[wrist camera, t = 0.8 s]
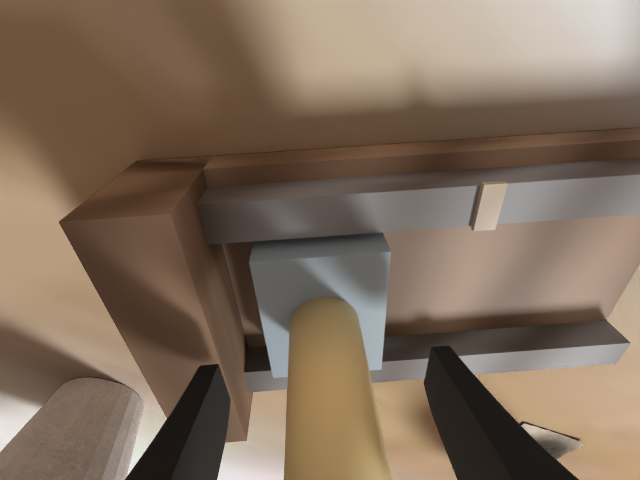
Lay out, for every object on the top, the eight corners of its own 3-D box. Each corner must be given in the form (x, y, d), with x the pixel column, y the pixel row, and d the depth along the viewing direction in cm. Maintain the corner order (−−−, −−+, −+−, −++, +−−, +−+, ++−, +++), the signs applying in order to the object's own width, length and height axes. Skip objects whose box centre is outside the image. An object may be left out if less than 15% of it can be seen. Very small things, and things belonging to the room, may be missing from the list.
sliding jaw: (379, 223, 13) (462, 424, 6) (373, 335, 17) (422, 540, 10) (255, 232, 13) (207, 444, 6) (275, 343, 17) (259, 554, 10)
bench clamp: (676, 125, 13) (850, 167, 9) (570, 328, 20) (644, 408, 16) (137, 160, 13) (58, 221, 9) (207, 356, 19) (182, 445, 15)
